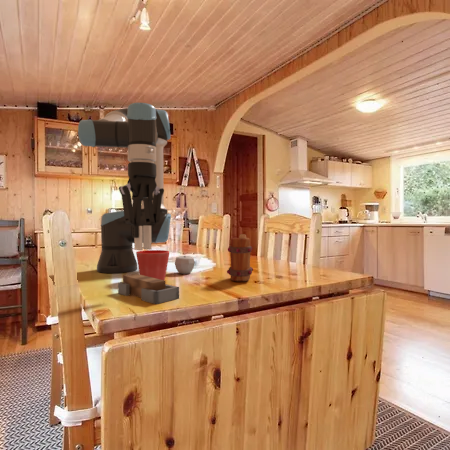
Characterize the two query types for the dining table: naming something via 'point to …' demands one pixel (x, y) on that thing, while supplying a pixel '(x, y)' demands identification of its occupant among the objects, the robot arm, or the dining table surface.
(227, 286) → the dining table surface
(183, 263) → the apple
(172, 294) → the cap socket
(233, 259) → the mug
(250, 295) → the dining table surface
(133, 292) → the brown rectangular block
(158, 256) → the flower pot
